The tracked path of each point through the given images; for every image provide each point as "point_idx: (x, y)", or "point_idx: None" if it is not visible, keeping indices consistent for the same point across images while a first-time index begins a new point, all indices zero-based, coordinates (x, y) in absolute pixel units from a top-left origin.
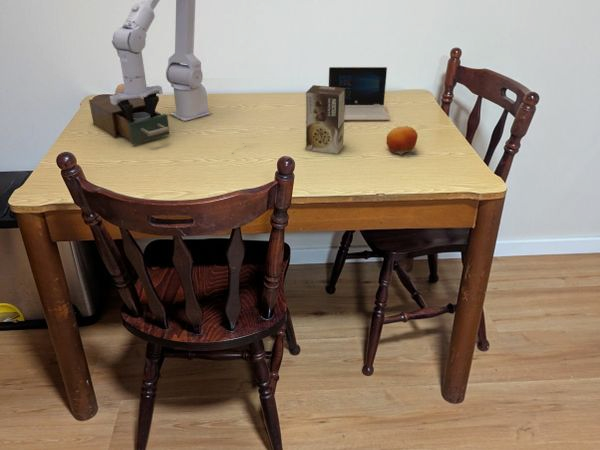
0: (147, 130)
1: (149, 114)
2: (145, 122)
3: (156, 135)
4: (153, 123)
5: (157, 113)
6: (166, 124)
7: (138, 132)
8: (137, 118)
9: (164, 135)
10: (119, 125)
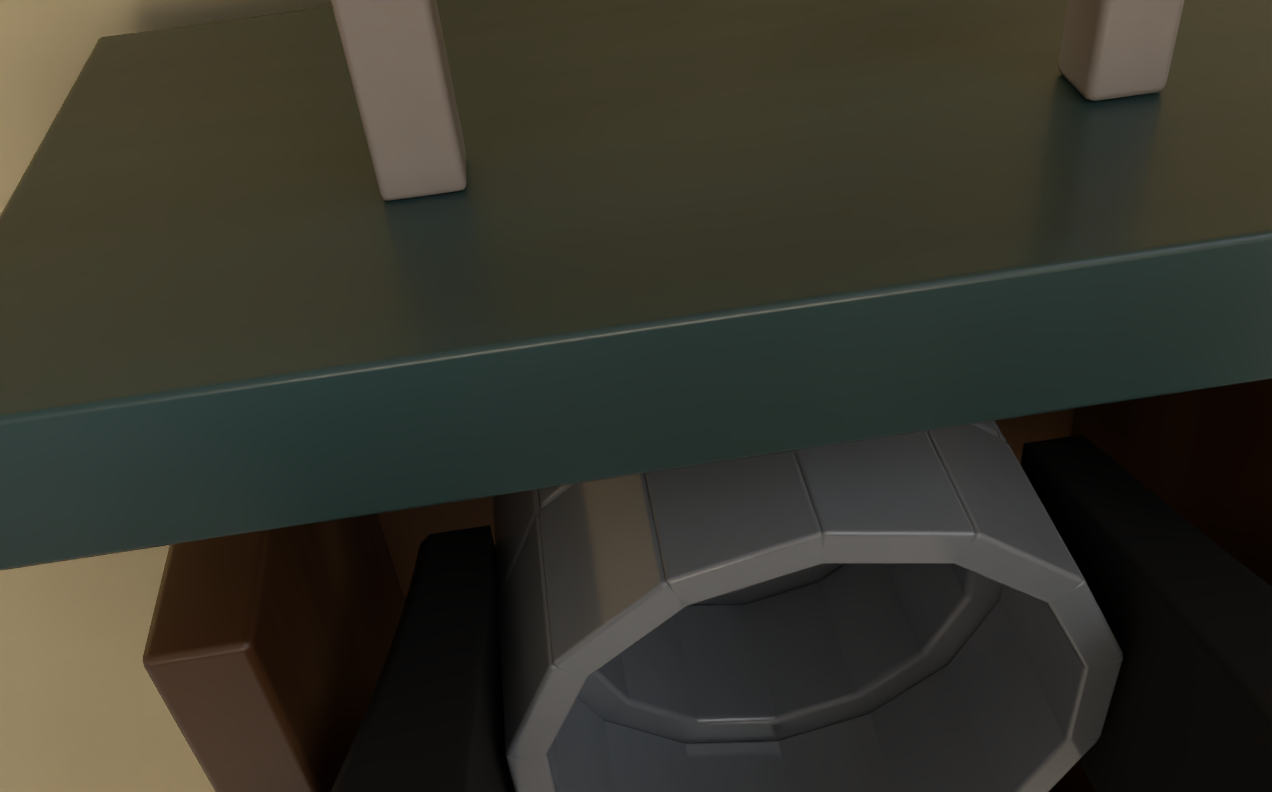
0: (862, 63)
1: (537, 729)
2: (998, 220)
3: (531, 3)
4: (623, 196)
5: (260, 702)
6: (83, 186)
7: (1205, 23)
8: (767, 752)
9: (268, 18)
10: None
